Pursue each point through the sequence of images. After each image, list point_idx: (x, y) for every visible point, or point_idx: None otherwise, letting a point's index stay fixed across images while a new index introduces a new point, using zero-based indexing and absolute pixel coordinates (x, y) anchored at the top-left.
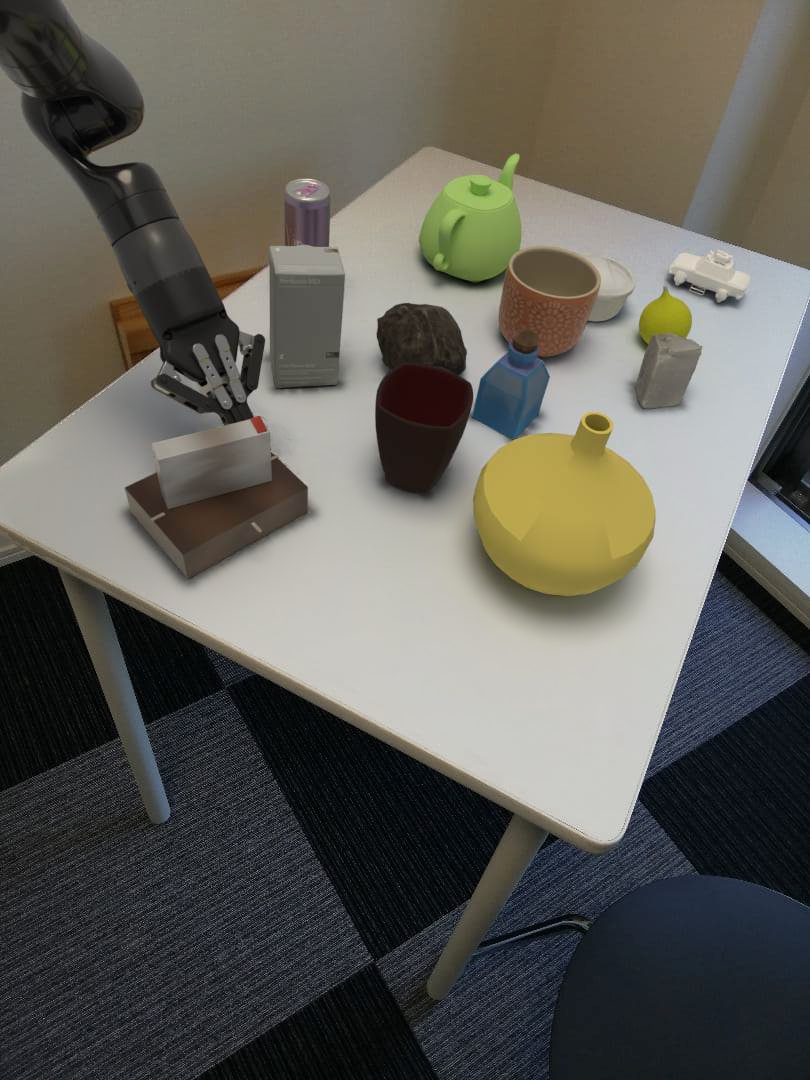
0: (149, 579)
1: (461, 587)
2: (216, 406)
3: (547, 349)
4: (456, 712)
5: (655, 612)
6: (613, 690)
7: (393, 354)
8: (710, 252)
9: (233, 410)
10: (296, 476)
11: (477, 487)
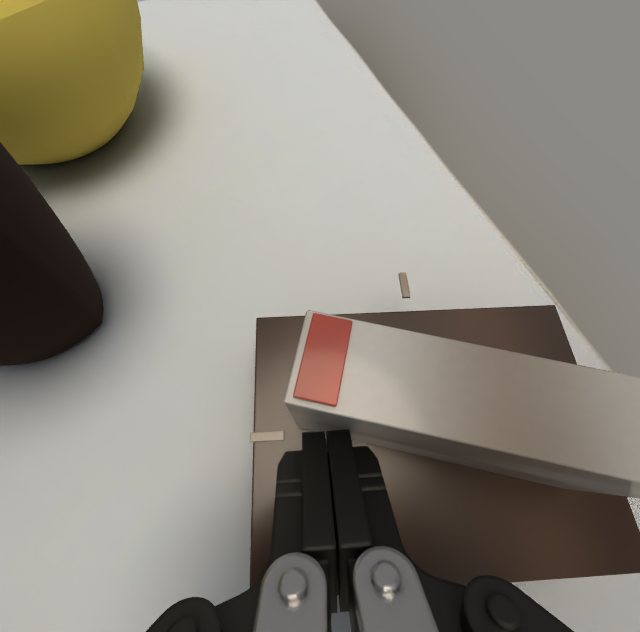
0: None
1: (190, 139)
2: (435, 602)
3: None
4: (312, 63)
5: None
6: (176, 17)
7: None
8: None
9: (359, 534)
10: (256, 355)
11: (32, 49)
